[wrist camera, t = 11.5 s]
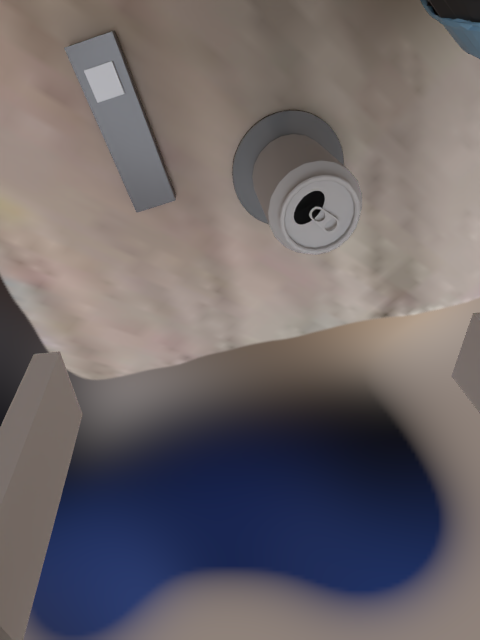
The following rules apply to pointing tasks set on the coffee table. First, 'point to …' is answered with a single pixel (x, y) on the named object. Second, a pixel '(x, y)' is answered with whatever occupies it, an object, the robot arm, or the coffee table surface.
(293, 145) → the can
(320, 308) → the coffee table surface
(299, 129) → the coaster
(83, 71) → the remote
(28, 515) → the robot arm
